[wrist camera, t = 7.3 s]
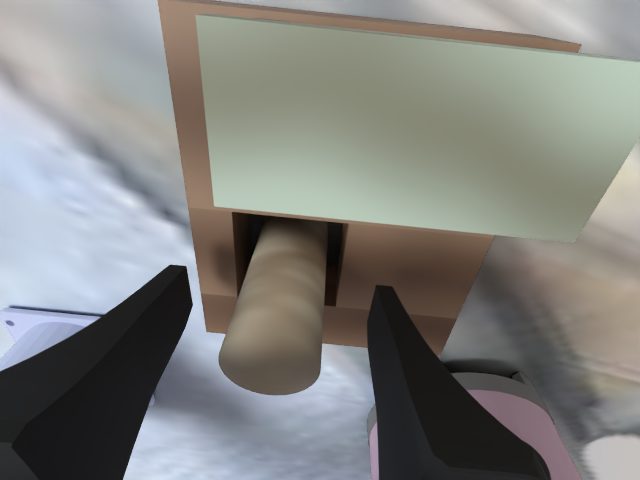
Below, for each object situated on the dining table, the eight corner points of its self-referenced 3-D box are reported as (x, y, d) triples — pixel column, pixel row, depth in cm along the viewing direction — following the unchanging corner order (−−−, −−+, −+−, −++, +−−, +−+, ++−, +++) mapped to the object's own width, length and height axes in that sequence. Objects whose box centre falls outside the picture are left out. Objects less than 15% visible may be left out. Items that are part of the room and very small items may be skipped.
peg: (334, 207, 17) (330, 343, 10) (320, 258, 19) (309, 401, 12) (268, 193, 16) (221, 322, 10) (260, 246, 18) (216, 386, 12)
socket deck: (428, 311, 20) (464, 440, 14) (222, 291, 20) (174, 412, 14) (533, 35, 12) (710, 69, 6) (194, -2, 12) (57, -1, 6)
